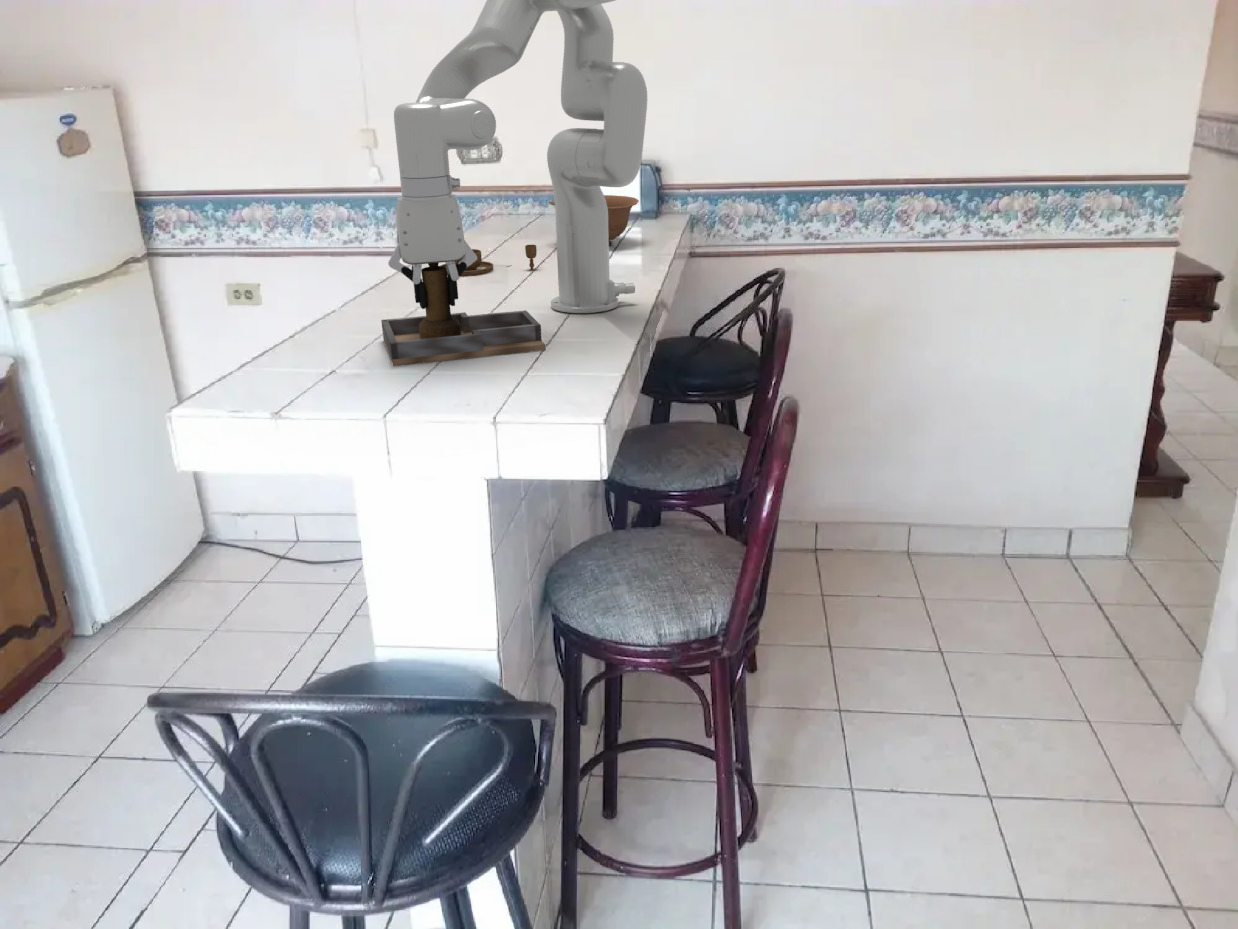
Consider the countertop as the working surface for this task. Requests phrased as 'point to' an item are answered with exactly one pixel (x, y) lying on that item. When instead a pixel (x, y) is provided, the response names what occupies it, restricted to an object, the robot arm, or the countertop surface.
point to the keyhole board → (463, 338)
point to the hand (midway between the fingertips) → (437, 304)
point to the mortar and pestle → (437, 305)
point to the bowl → (617, 214)
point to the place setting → (488, 266)
